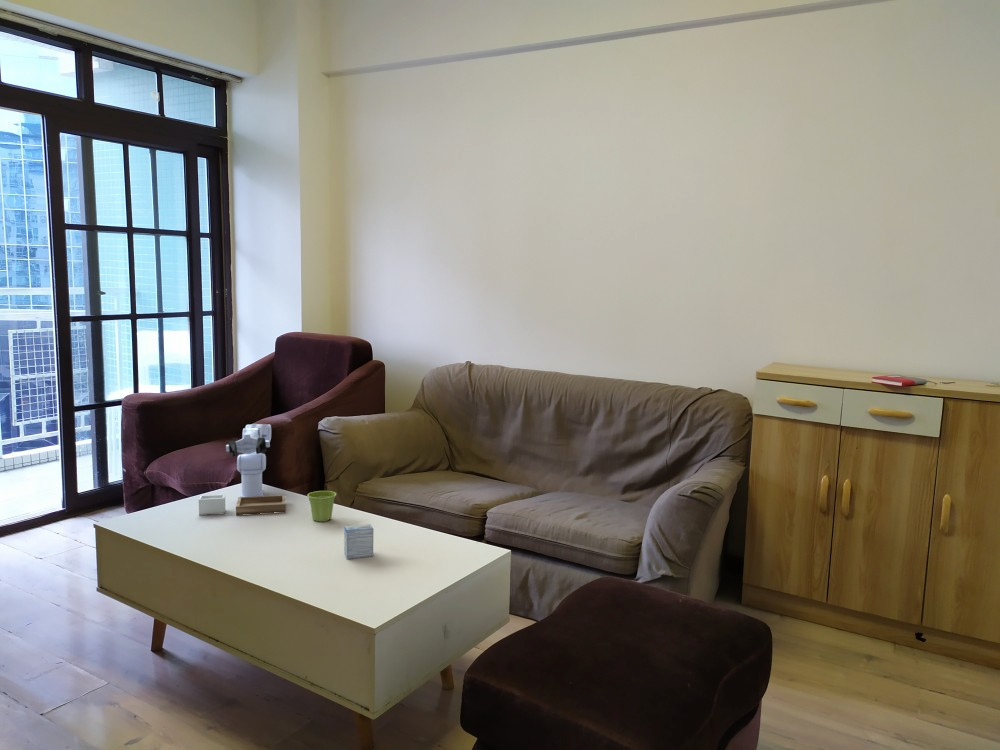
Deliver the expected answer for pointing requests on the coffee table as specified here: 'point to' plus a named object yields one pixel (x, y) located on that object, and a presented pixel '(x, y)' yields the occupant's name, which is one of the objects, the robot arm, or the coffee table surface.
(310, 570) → the coffee table surface
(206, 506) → the white crate
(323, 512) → the plant pot
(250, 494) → the robot arm
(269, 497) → the walnut crate
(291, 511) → the coffee table surface
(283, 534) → the coffee table surface
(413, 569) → the coffee table surface
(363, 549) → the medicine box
